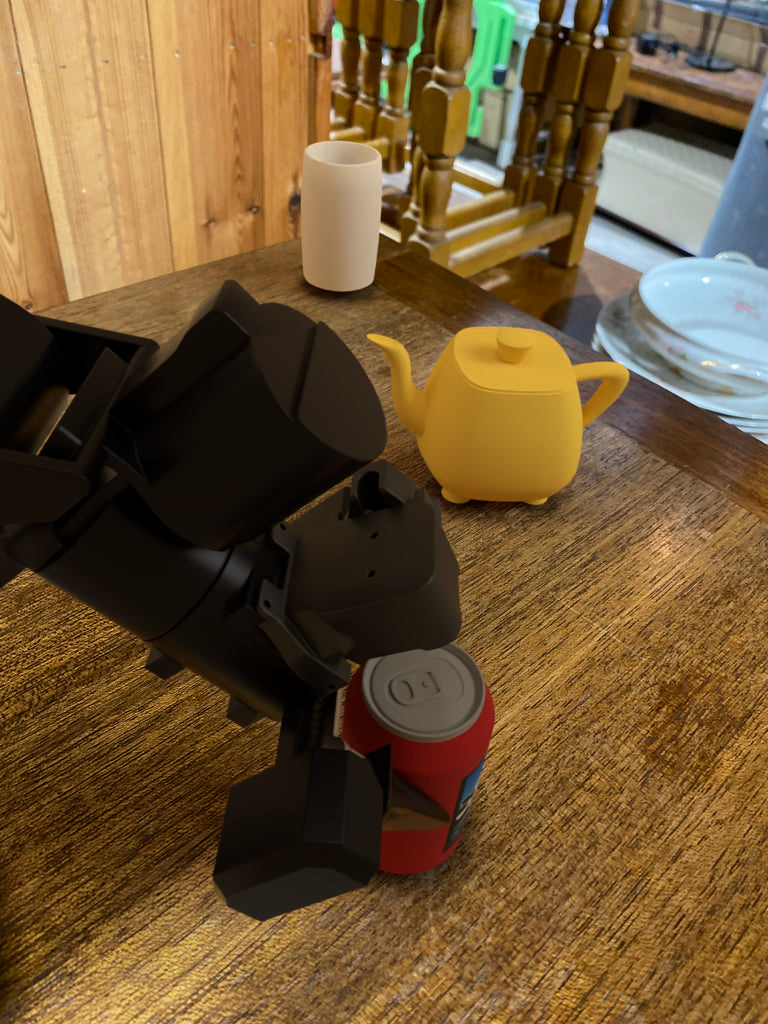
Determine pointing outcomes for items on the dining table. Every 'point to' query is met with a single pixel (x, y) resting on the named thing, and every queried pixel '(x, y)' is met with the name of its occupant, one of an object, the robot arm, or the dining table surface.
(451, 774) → the beverage can
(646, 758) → the dining table surface
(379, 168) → the cup
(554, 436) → the teapot
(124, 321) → the dining table surface
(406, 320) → the dining table surface
